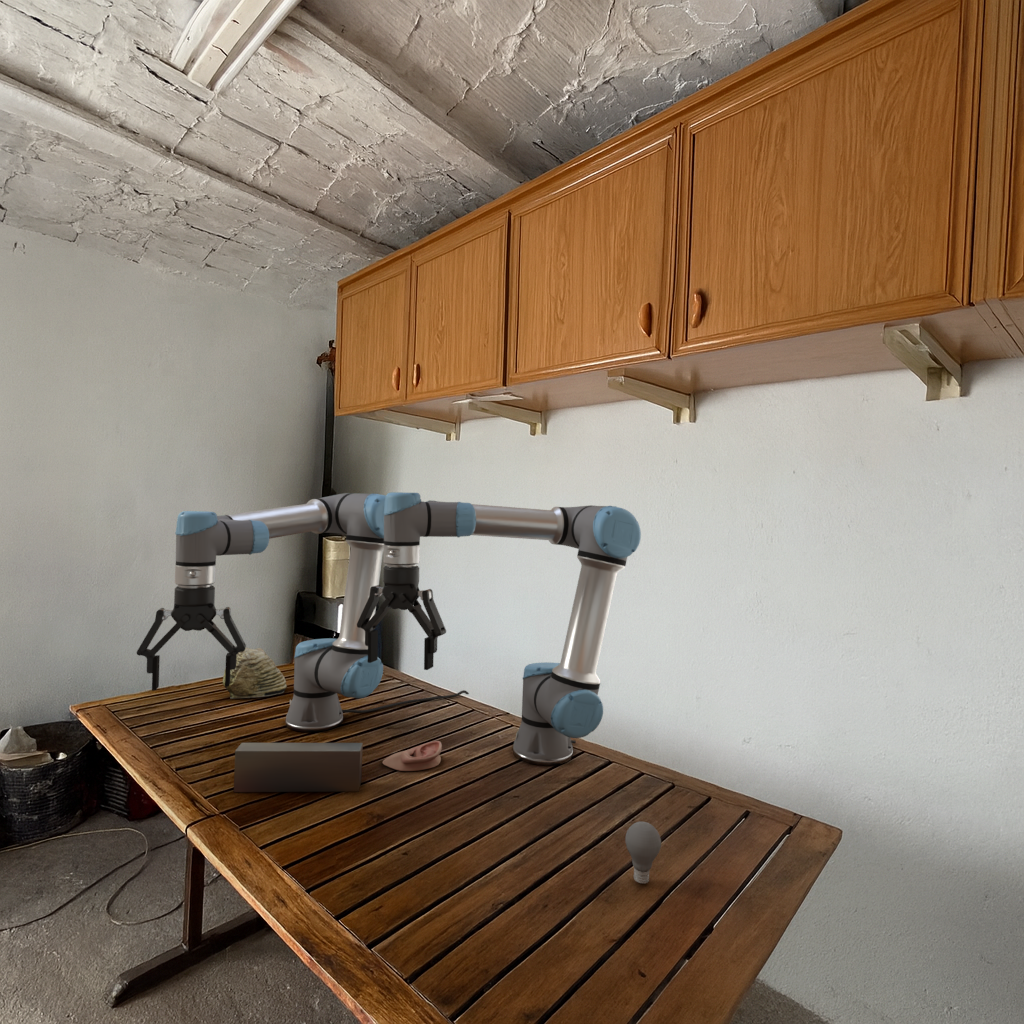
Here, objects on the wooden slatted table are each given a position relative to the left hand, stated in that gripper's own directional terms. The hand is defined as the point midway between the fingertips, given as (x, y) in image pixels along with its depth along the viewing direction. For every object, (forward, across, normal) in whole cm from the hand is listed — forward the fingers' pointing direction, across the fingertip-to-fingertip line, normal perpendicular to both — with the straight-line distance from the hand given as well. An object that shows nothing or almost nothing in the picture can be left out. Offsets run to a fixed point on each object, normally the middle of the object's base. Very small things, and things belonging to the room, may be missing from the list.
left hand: (192, 686), depth 132 cm
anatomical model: (+23, +48, +5) cm, 53 cm away
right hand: (-6, +41, -11) cm, 43 cm away
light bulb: (+23, +77, -52) cm, 96 cm away
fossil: (+23, +9, +66) cm, 70 cm away
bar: (+23, +22, -2) cm, 32 cm away
